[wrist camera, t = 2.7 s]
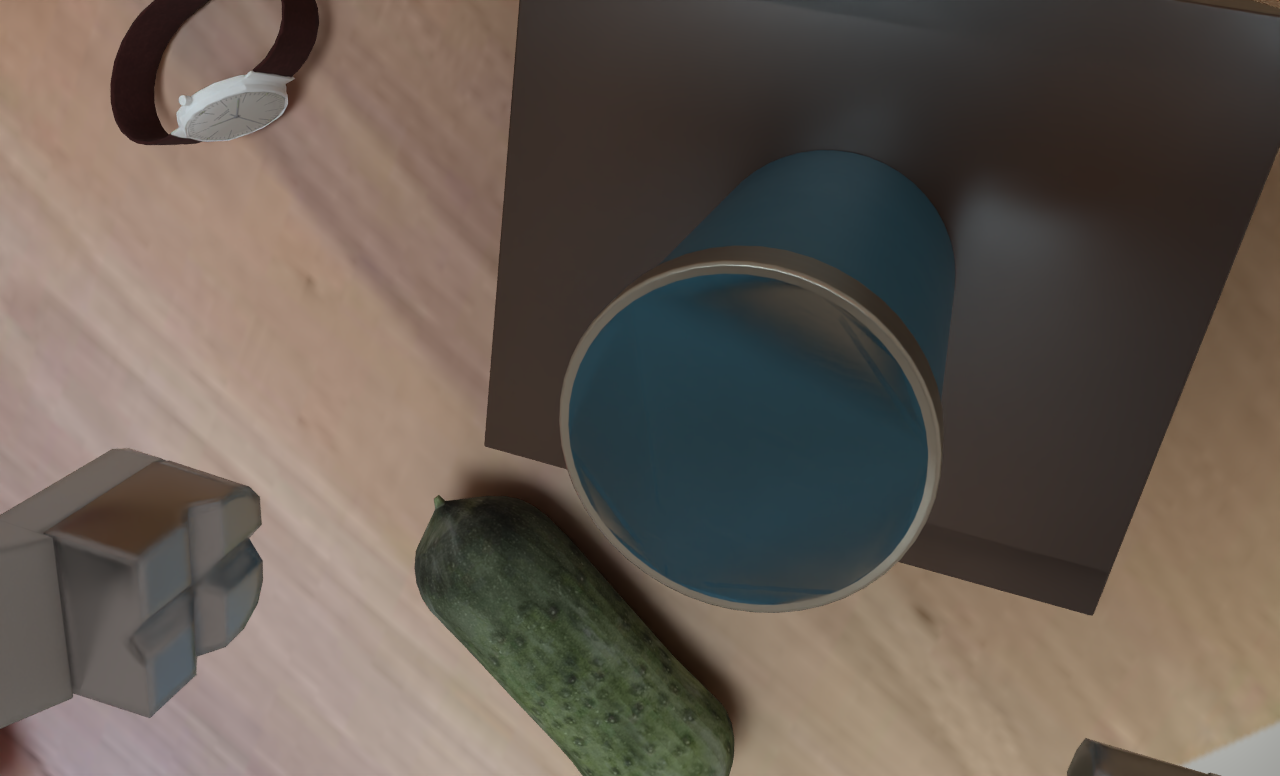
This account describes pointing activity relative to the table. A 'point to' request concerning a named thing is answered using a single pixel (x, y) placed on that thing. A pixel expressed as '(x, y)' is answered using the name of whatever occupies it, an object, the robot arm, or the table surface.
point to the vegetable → (567, 643)
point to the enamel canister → (772, 390)
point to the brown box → (956, 186)
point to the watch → (219, 105)
